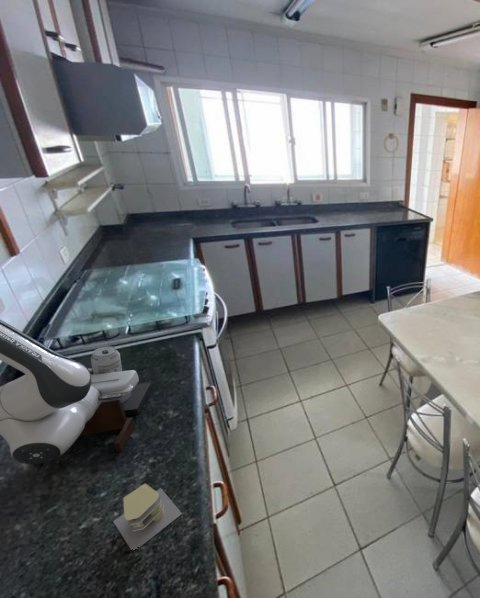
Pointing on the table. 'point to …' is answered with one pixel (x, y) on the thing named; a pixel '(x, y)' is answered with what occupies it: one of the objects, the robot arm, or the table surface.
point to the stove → (134, 398)
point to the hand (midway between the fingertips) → (102, 369)
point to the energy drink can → (106, 361)
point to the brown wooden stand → (109, 423)
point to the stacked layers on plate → (145, 515)
